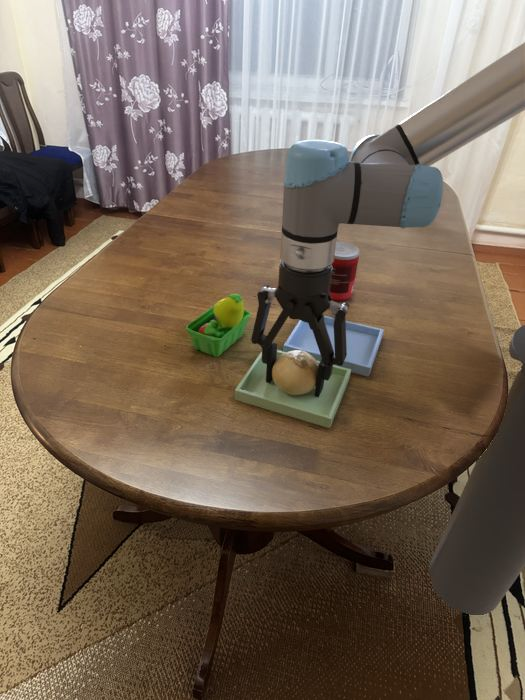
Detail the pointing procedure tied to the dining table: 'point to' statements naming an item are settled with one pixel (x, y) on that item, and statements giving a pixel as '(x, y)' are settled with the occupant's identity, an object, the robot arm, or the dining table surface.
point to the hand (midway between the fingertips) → (294, 384)
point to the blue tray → (358, 343)
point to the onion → (295, 372)
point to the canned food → (343, 271)
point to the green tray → (296, 406)
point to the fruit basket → (219, 326)
